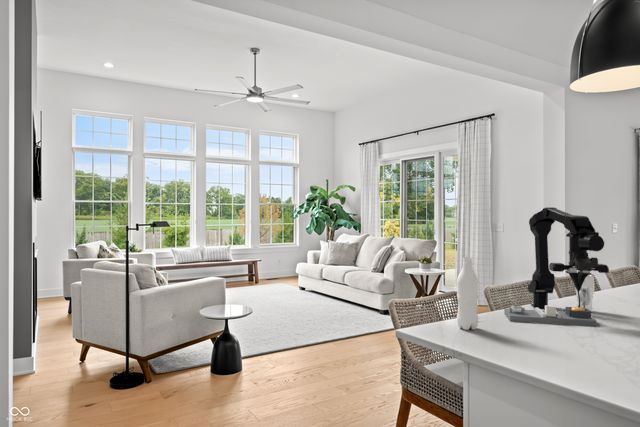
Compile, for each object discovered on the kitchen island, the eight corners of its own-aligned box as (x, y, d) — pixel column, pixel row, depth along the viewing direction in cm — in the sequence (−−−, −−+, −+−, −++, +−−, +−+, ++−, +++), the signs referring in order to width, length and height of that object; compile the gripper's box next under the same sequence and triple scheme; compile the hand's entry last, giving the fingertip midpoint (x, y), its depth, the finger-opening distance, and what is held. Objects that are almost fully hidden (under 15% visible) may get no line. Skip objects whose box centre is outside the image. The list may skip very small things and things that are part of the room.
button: (569, 313, 167) (569, 306, 167) (582, 313, 166) (582, 307, 166) (573, 315, 163) (573, 309, 163) (586, 316, 162) (586, 309, 162)
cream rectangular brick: (544, 314, 165) (544, 305, 165) (554, 315, 164) (554, 305, 164) (546, 316, 162) (546, 306, 162) (556, 316, 162) (555, 307, 162)
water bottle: (479, 331, 150) (479, 259, 150) (458, 330, 151) (458, 258, 151) (476, 326, 157) (476, 256, 157) (455, 325, 158) (455, 256, 158)
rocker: (511, 308, 172) (511, 306, 173) (519, 309, 172) (519, 306, 172) (513, 308, 168) (513, 305, 168) (522, 309, 167) (522, 306, 167)
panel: (504, 313, 177) (504, 302, 177) (583, 317, 170) (583, 306, 170) (510, 321, 164) (510, 309, 164) (596, 326, 157) (596, 313, 157)
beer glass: (589, 309, 185) (589, 274, 185) (597, 312, 178) (597, 276, 178) (571, 308, 186) (571, 273, 186) (580, 312, 179) (580, 276, 179)
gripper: (556, 250, 159) (557, 293, 159) (614, 251, 154) (615, 295, 154) (548, 248, 170) (548, 288, 170) (602, 249, 165) (602, 290, 165)
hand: (578, 290), depth 164 cm, fingers closed
